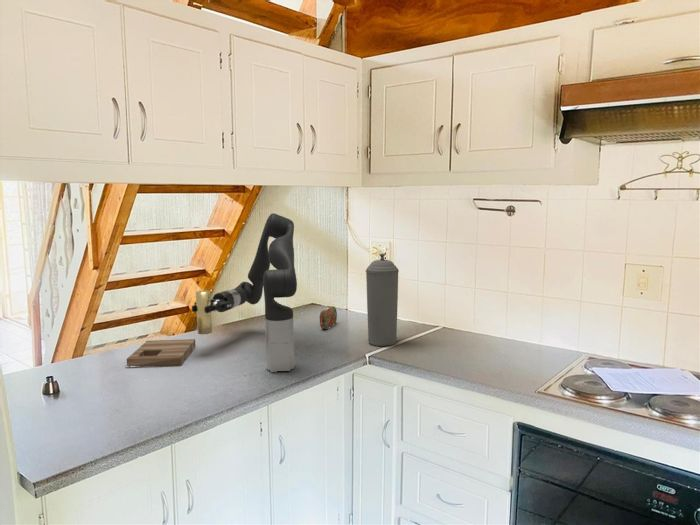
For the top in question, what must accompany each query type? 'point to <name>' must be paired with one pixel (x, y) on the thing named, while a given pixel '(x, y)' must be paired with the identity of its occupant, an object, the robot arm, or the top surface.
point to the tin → (328, 317)
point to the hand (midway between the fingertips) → (199, 309)
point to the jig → (162, 353)
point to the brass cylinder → (203, 312)
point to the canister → (382, 302)
